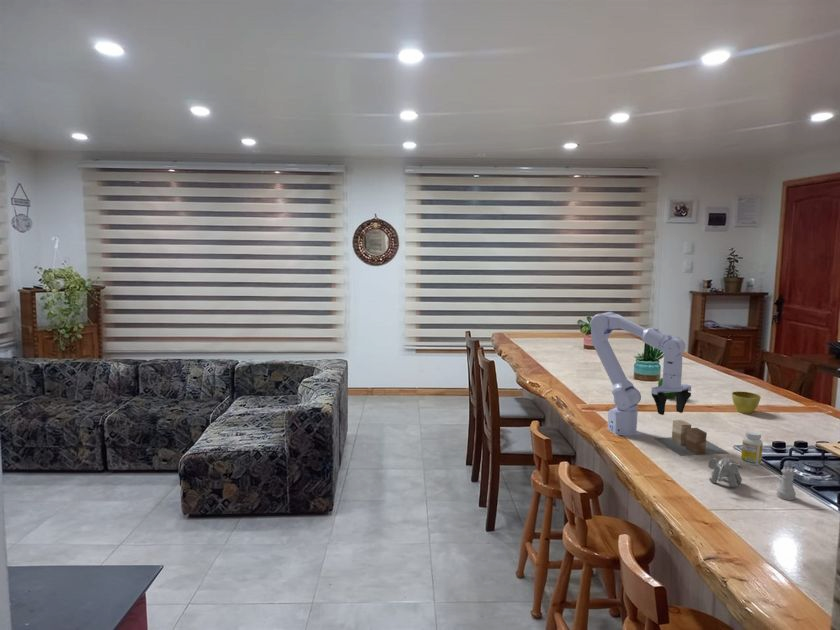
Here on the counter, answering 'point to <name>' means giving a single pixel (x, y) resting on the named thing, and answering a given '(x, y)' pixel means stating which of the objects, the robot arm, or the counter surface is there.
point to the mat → (684, 452)
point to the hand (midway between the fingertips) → (670, 413)
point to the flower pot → (745, 401)
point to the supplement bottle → (752, 448)
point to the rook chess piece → (787, 485)
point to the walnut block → (696, 440)
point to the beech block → (680, 431)
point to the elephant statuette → (725, 471)
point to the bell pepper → (669, 395)
